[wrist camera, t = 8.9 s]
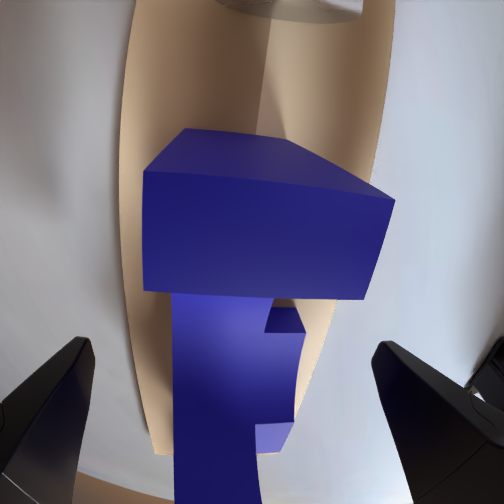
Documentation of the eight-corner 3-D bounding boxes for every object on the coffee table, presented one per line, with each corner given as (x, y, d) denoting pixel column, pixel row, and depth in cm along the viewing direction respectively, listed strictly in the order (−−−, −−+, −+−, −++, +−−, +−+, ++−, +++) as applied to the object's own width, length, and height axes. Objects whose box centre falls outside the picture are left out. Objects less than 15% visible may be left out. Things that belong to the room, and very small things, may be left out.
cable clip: (268, 401, 14) (292, 509, 9) (177, 401, 14) (176, 514, 8) (332, 147, 9) (468, 215, 4) (184, 128, 8) (143, 171, 3)
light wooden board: (380, -12, 8) (396, -20, 7) (276, 438, 18) (279, 453, 17) (158, -50, 6) (153, -65, 5) (156, 439, 17) (155, 454, 16)
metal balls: (337, -42, 6) (391, -87, 3) (246, 455, 17) (253, 503, 14) (224, -64, 6) (234, -127, 2) (189, 456, 16) (191, 504, 13)
